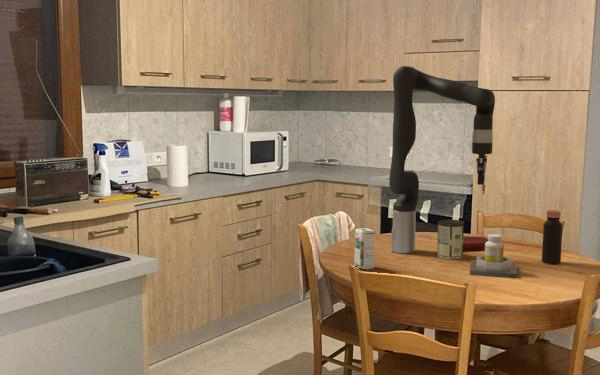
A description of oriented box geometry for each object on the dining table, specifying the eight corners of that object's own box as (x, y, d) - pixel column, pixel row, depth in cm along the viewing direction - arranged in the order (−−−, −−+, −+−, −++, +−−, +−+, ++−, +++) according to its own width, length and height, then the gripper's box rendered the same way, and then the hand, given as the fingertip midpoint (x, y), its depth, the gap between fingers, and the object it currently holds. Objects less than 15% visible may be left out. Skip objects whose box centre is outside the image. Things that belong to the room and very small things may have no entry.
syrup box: (353, 266, 240) (354, 228, 238) (367, 265, 243) (368, 227, 241) (361, 270, 235) (361, 231, 233) (375, 268, 237) (375, 230, 235)
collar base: (469, 274, 229) (470, 262, 229) (471, 263, 244) (472, 252, 244) (516, 278, 225) (517, 265, 224) (515, 266, 240) (516, 255, 239)
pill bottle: (501, 264, 237) (503, 234, 235) (503, 269, 231) (504, 237, 229) (483, 263, 238) (484, 233, 237) (484, 268, 232) (486, 236, 230)
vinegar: (546, 259, 251) (548, 209, 248) (563, 262, 246) (566, 211, 244) (538, 262, 246) (541, 211, 244) (555, 265, 241) (558, 213, 239)
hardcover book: (494, 251, 267) (495, 241, 266) (446, 252, 264) (446, 242, 264) (483, 245, 278) (483, 235, 278) (436, 246, 276) (436, 236, 276)
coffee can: (445, 251, 264) (446, 218, 262) (467, 256, 257) (469, 221, 255) (431, 256, 256) (432, 221, 255) (454, 260, 249) (455, 225, 248)
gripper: (492, 142, 237) (490, 186, 240) (492, 140, 251) (491, 181, 253) (471, 142, 240) (469, 185, 242) (473, 140, 253) (471, 180, 255)
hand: (480, 183), depth 247 cm, fingers open, 8 cm apart
